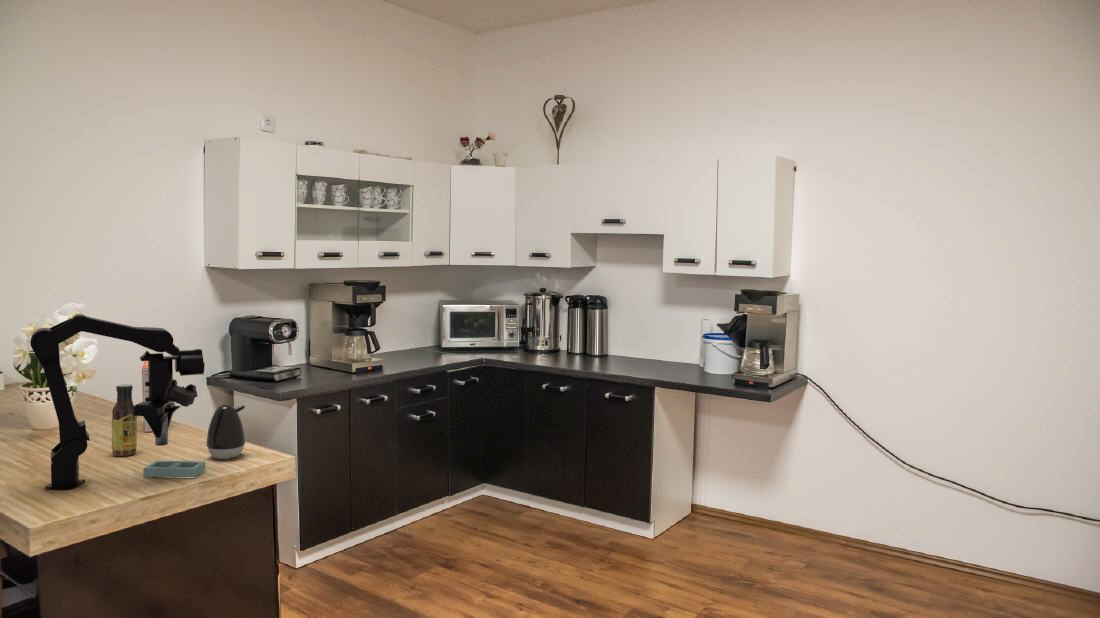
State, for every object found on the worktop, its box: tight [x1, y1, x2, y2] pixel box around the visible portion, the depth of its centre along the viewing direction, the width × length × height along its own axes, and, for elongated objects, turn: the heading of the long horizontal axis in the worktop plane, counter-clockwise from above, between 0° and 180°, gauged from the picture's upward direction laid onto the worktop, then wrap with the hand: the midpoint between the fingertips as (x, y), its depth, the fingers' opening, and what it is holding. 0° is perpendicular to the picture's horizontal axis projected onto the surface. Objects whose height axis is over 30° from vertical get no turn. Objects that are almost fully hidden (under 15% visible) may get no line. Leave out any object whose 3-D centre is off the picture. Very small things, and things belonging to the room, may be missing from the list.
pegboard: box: [142, 460, 206, 479], centre depth 208 cm, size 7×13×2 cm, turn 92°
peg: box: [154, 414, 169, 447], centre depth 207 cm, size 3×3×8 cm
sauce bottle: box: [111, 383, 138, 457], centre depth 224 cm, size 7×6×20 cm
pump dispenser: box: [205, 403, 246, 460], centre depth 224 cm, size 10×10×15 cm
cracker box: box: [141, 361, 153, 433], centre depth 256 cm, size 14×6×21 cm, turn 25°
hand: (161, 435), depth 207 cm, fingers closed on peg, 3 cm apart
